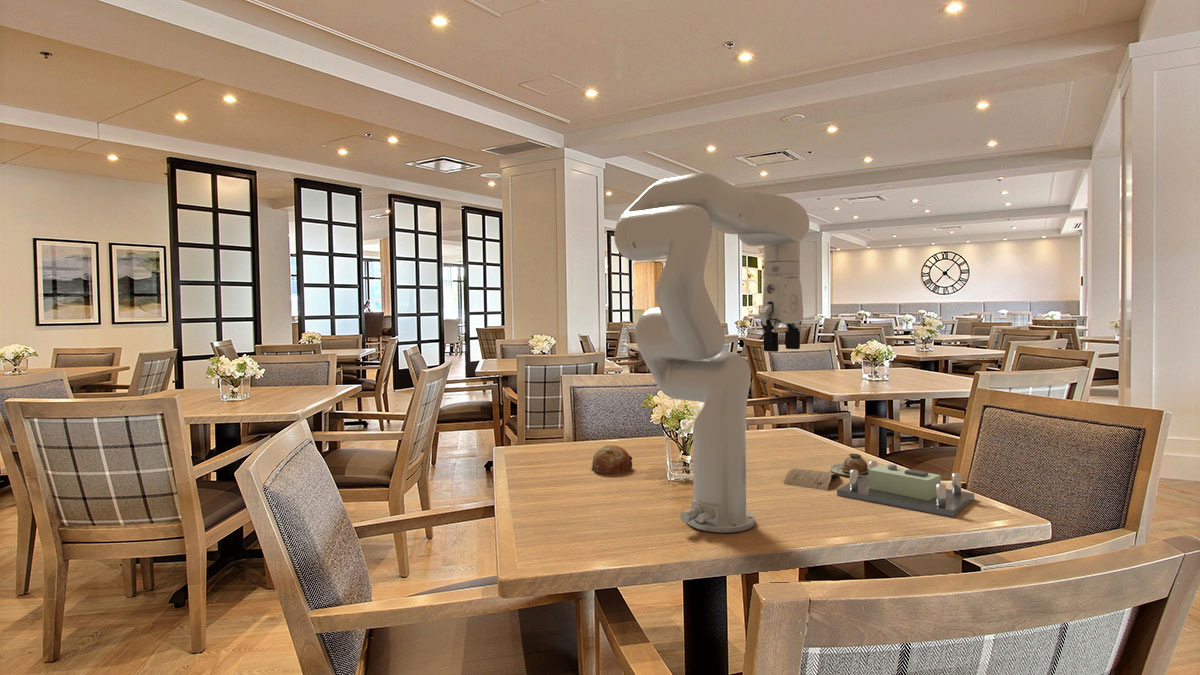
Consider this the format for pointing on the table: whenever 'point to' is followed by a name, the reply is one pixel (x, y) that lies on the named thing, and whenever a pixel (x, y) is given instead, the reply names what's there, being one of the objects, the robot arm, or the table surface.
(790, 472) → the curved roof tile
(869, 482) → the block
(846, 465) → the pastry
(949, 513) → the chassis
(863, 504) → the table surface
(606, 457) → the bread roll
